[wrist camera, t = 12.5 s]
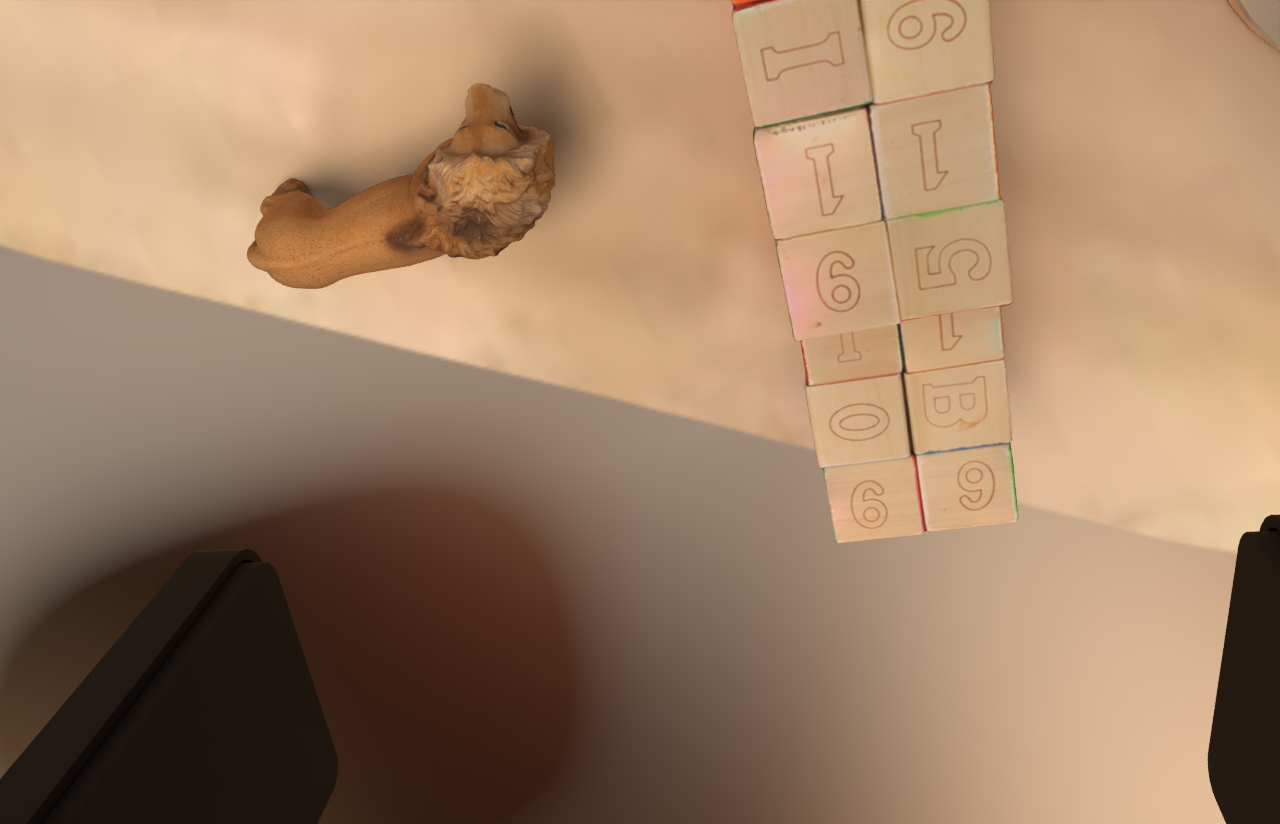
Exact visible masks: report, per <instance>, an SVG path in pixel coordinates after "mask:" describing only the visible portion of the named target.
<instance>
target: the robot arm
mask: <svg viewBox="0 0 1280 824" xmlns="http://www.w3.org/2000/svg"><path fill="white" fill-rule="evenodd" d="M1228 1H1229V3H1230V5H1231V7H1232V8H1233V9H1234V10H1235V11H1236V12H1237V14H1238V15H1239V16H1240V17H1241V18H1242V19H1243V21H1244V22H1245V23H1246V24H1247V25H1248V27H1249V28H1250V29H1251V30H1252V31H1253V32H1254V33H1256V34H1257V35H1258V36H1260V37H1261V38H1263V39H1264V40H1265V41H1267V42H1268V43H1269V44H1271V45H1272V46H1274V47H1275V48H1276V49H1278V50H1279V51H1280V0H1228ZM1208 771H1209V778H1210V783H1211V787H1212V791H1213V794H1214V796H1215V799H1216V801H1217V803H1218V806H1219V808H1220V810H1221V813H1222V815H1223V817H1224V820H1225V822H1226V824H1280V515H1270V516H1268V517H1266V518H1265V519H1264V521H1263V523H1262V525H1261V528H1260V531H1259V532H1246V533H1244V534H1243V535H1242V537H1241V539H1240V542H1239V546H1238V553H1237V559H1236V566H1235V574H1234V580H1233V587H1232V593H1231V601H1230V608H1229V614H1228V621H1227V628H1226V635H1225V641H1224V648H1223V656H1222V662H1221V668H1220V675H1219V682H1218V689H1217V696H1216V702H1215V710H1214V716H1213V724H1212V730H1211V737H1210V743H1209V750H1208ZM337 772H338V761H337V755H336V750H335V747H334V744H333V741H332V738H331V735H330V732H329V729H328V726H327V723H326V720H325V717H324V714H323V711H322V708H321V705H320V702H319V699H318V696H317V693H316V690H315V687H314V684H313V681H312V678H311V674H310V671H309V668H308V665H307V662H306V659H305V656H304V653H303V650H302V647H301V644H300V641H299V638H298V635H297V632H296V629H295V626H294V623H293V620H292V617H291V614H290V611H289V608H288V605H287V601H286V599H285V596H284V592H283V589H282V586H281V583H280V580H279V578H278V574H277V572H276V570H275V568H274V567H273V566H272V565H271V564H270V563H267V562H262V561H261V559H260V557H259V556H258V555H257V554H256V553H255V552H254V551H252V550H249V549H231V550H230V549H229V550H200V551H197V552H193V553H192V554H191V555H190V556H189V557H187V558H186V559H185V561H184V562H183V563H182V564H181V565H180V567H179V568H178V569H177V570H176V571H175V572H174V574H173V575H172V576H171V577H170V578H169V580H168V581H167V582H166V583H165V584H164V586H163V587H162V588H161V589H160V590H159V591H158V593H157V594H156V595H155V596H154V597H153V599H152V600H151V601H150V602H149V603H148V605H147V606H146V607H145V608H144V609H143V611H142V612H141V613H140V614H139V615H138V616H137V618H136V619H135V620H134V621H133V622H132V623H131V625H130V626H129V627H128V628H127V629H126V631H125V632H124V633H123V634H122V635H121V637H120V638H119V639H118V640H117V641H116V642H115V644H114V645H113V646H112V647H111V648H110V650H109V651H108V652H107V653H106V654H105V656H104V657H103V658H102V659H101V660H100V662H99V663H98V664H97V665H96V666H95V667H94V669H93V670H92V671H91V672H90V673H89V675H88V676H87V677H86V678H85V679H84V681H83V682H82V683H81V684H80V685H79V687H78V688H77V689H76V690H75V691H74V692H73V694H72V695H71V696H70V697H69V698H68V700H67V701H66V702H65V703H64V704H63V705H62V707H61V708H60V709H59V710H58V711H57V712H56V714H55V715H54V716H53V717H52V719H51V720H50V721H49V722H48V723H47V724H46V726H45V727H44V728H43V729H42V730H41V732H40V733H39V734H38V735H37V736H36V737H35V739H34V740H33V741H32V742H31V743H30V745H29V746H28V747H27V748H26V749H25V750H24V752H23V753H22V754H21V755H20V756H19V758H18V759H17V760H16V761H15V762H14V763H13V765H12V766H11V767H10V768H9V769H8V771H7V772H6V773H5V774H4V776H3V777H2V778H1V779H0V824H317V823H318V821H319V819H320V817H321V815H322V813H323V811H324V809H325V807H326V805H327V803H328V801H329V799H330V797H331V794H332V792H333V790H334V787H335V784H336V779H337Z"/></svg>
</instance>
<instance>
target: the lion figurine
mask: <svg viewBox="0 0 1280 824" xmlns="http://www.w3.org/2000/svg"><path fill="white" fill-rule="evenodd" d="M465 106H466V113H467V117H466V118H465V120H464V121H463V123H462V125H461V127H460V128H459V129H458V131H457V132H456V134H455V135H454V138H452V139H449V140H447V141H446V142H444V143H442V144H440V145H439V146H438V148H437V149H436V150H435V151H434V152H433V153H431V154H430V155H429V156H428V157H427V158H426V159H425V160H424V161H423V162H422V163H421V165H420V166H419V167H418V168H417V170H416V172H415V173H414V175H406V176H401V177H396V178H393V179H390V180H387V181H385V182H382V183H379V184H377V185H375V186H372V187H370V188H369V189H367V190H365V191H363V192H361V193H358V194H356V195H354V196H353V197H351V198H349V199H348V200H346V201H344V202H343V203H341V204H340V205H338V206H337V207H335V208H330V209H328V208H325V207H323V206H322V205H321V204H320V203H319V202H318V201H317V200H316V199H315V198H313V197H311V196H310V195H308V193H309V192H308V189H307V188H306V187H304V185H303V184H302V183H301V182H299V181H296V180H293V179H290V180H287V181H285V182H284V183H283V184H281V185H280V186H279V187H278V188H277V190H276V191H275V192H274V193H273V194H272V195H271V196H268V197H266V198H265V199H264V200H263V202H262V204H261V207H260V210H261V213H262V214H263V217H262V219H261V220H260V222H259V224H258V225H257V228H256V230H255V241H254V242H253V243H252V244H251V246H250V247H249V249H248V251H247V258H248V260H249V262H250V263H251V264H252V265H253V266H254V267H256V268H258V269H260V270H263V271H266V272H268V273H269V275H270V276H271V277H272V278H273V279H274V280H275V281H277V282H279V283H281V284H283V285H285V286H288V287H292V288H304V289H318V288H323V287H327V286H329V285H331V284H333V283H335V282H337V281H339V280H341V279H344V278H347V277H350V276H354V275H358V274H363V273H369V272H375V271H381V270H387V269H393V268H400V267H405V266H411V265H414V264H417V263H421V262H424V261H428V260H431V259H435V258H437V257H440V256H442V255H444V254H447V255H448V256H450V257H455V258H456V257H465V258H468V259H480V258H485V257H488V256H497V255H498V254H499V252H501V251H502V250H503V249H505V248H506V247H507V246H508V245H509V244H510V243H512V242H515V241H519V240H521V239H522V238H523V237H524V235H525V233H526V232H527V231H528V230H529V229H532V228H533V227H534V226H535V221H536V220H538V219H540V218H541V217H542V215H543V213H544V211H546V209H547V207H548V203H549V201H550V198H551V193H550V190H551V189H552V187H553V186H554V185H555V183H554V178H555V174H554V165H553V163H554V158H553V153H552V152H553V149H554V144H553V141H552V139H551V136H550V134H549V133H547V132H545V131H544V130H538V129H537V128H536V127H534V126H529V127H526V126H522V125H517V122H516V120H515V117H514V114H513V111H512V109H511V106H510V101H509V98H508V96H507V94H505V93H504V92H502V91H500V90H498V89H495V88H492V87H491V86H489V85H485V84H479V83H478V84H474V85H472V86H471V87H470V88H469V90H468V95H467V98H466V102H465Z"/></svg>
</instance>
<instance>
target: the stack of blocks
mask: <svg viewBox="0 0 1280 824" xmlns="http://www.w3.org/2000/svg"><path fill="white" fill-rule="evenodd" d="M731 1H732V4H733V7H734V8H733V12H732V20H733V25H734V30H735V35H736V40H737V45H738V50H739V55H740V60H741V65H742V70H743V75H744V80H745V85H746V90H747V94H748V99H749V104H750V109H751V114H752V118H753V123H754V125H755V127H754V131H753V143H754V147H755V153H756V159H757V163H758V167H759V171H760V176H761V182H762V187H763V192H764V197H765V202H766V207H767V212H768V217H769V222H770V227H771V231H772V234H773V237H774V239H775V242H776V251H777V256H778V261H779V266H780V271H781V276H782V281H783V286H784V291H785V296H786V301H787V307H788V311H789V316H790V321H791V326H792V331H793V337H794V339H795V341H800V342H801V348H802V353H803V360H804V366H805V392H806V398H807V404H808V411H809V417H810V423H811V429H812V434H813V440H814V445H815V451H816V456H817V461H818V465H819V466H820V467H821V468H822V469H823V472H824V478H825V484H826V490H827V496H828V502H829V508H830V513H831V519H832V526H833V531H834V538H835V541H836V543H842V542H852V541H862V540H871V539H879V538H889V537H900V536H908V535H918V534H922V533H923V532H924V531H940V530H950V529H958V528H969V527H975V526H985V525H994V524H1004V523H1011V522H1017V520H1018V509H1017V499H1016V489H1015V479H1014V466H1013V459H1012V452H1011V445H1010V442H1011V441H1012V431H1011V421H1010V410H1009V400H1008V389H1007V378H1006V368H1005V360H1004V342H1003V329H1002V319H1001V311H1000V306H1005V305H1010V304H1011V303H1012V302H1013V296H1012V285H1011V274H1010V263H1009V252H1008V243H1007V234H1006V222H1005V211H1004V202H1003V200H1002V198H1001V196H1000V194H999V179H998V166H997V155H996V144H995V135H994V121H993V110H992V100H991V92H990V84H991V83H992V81H993V79H994V60H993V47H992V36H991V25H990V14H989V0H731Z"/></svg>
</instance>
